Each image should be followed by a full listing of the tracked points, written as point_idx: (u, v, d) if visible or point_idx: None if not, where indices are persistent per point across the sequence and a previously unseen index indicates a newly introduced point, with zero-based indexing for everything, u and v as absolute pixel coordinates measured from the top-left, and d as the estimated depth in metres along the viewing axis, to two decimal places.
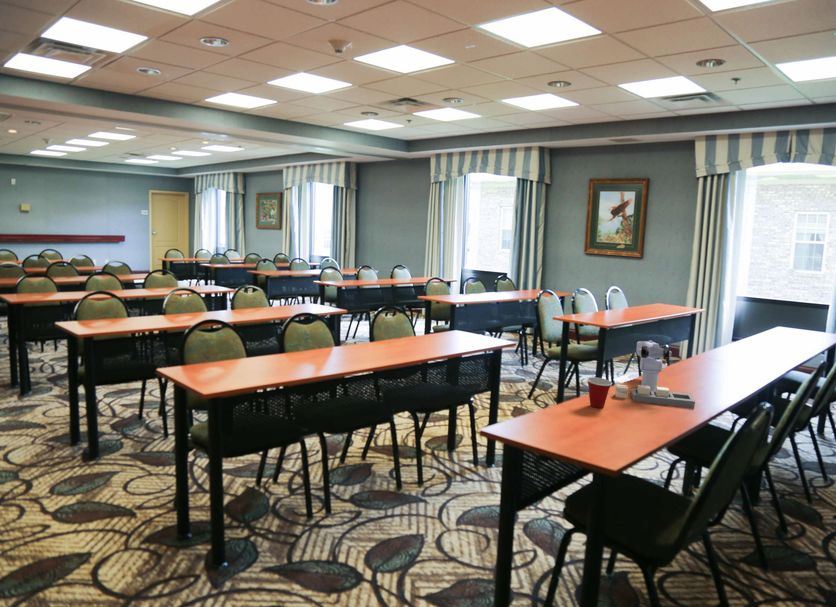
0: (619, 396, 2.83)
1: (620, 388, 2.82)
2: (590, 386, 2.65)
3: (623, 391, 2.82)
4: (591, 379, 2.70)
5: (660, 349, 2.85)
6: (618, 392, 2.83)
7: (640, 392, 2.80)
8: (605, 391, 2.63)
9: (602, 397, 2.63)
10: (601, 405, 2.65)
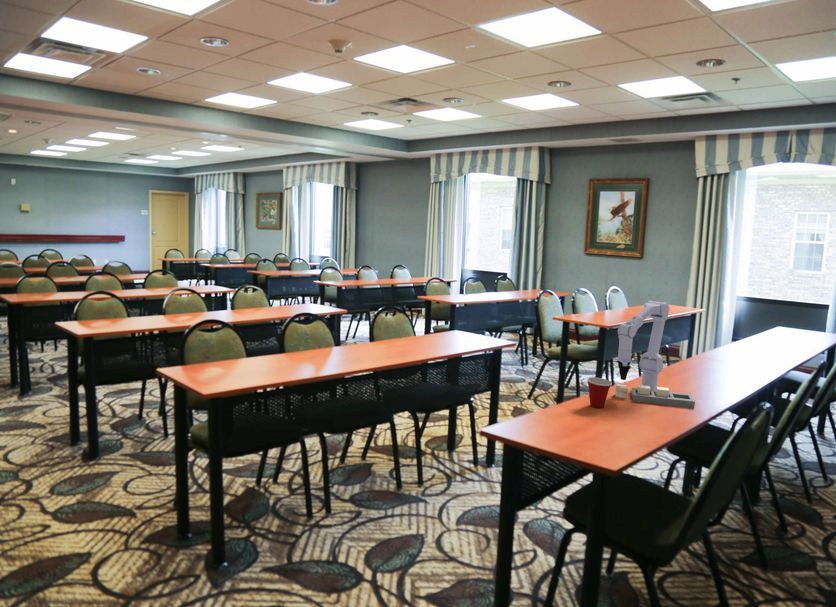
0: (619, 396, 2.83)
1: (620, 388, 2.82)
2: (590, 386, 2.65)
3: (623, 391, 2.82)
4: (591, 379, 2.70)
5: None
6: (618, 392, 2.83)
7: (640, 392, 2.80)
8: (605, 391, 2.63)
9: (602, 397, 2.63)
10: (601, 405, 2.65)
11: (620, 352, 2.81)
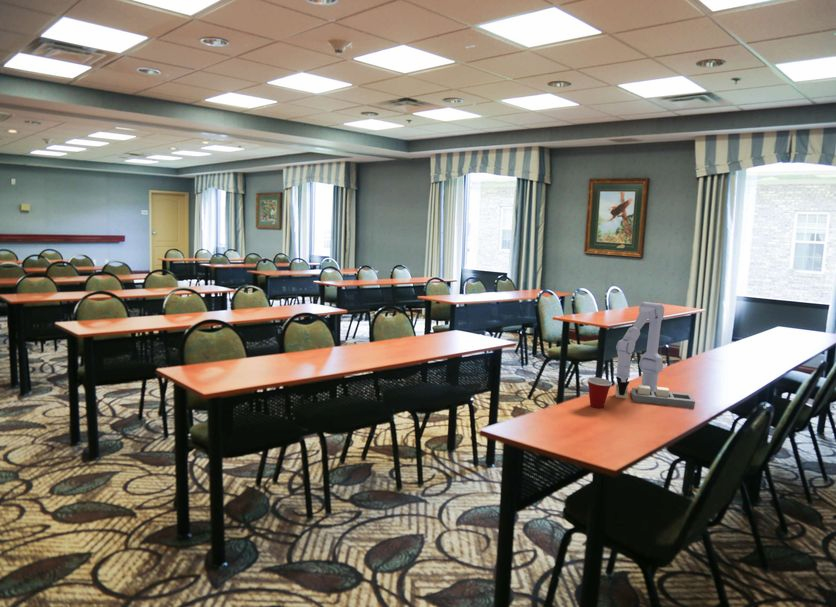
0: (619, 396, 2.83)
1: None
2: (590, 386, 2.65)
3: None
4: (591, 379, 2.70)
5: None
6: (618, 392, 2.83)
7: (640, 392, 2.80)
8: (605, 391, 2.63)
9: (602, 397, 2.63)
10: (601, 405, 2.65)
11: (619, 368, 2.82)
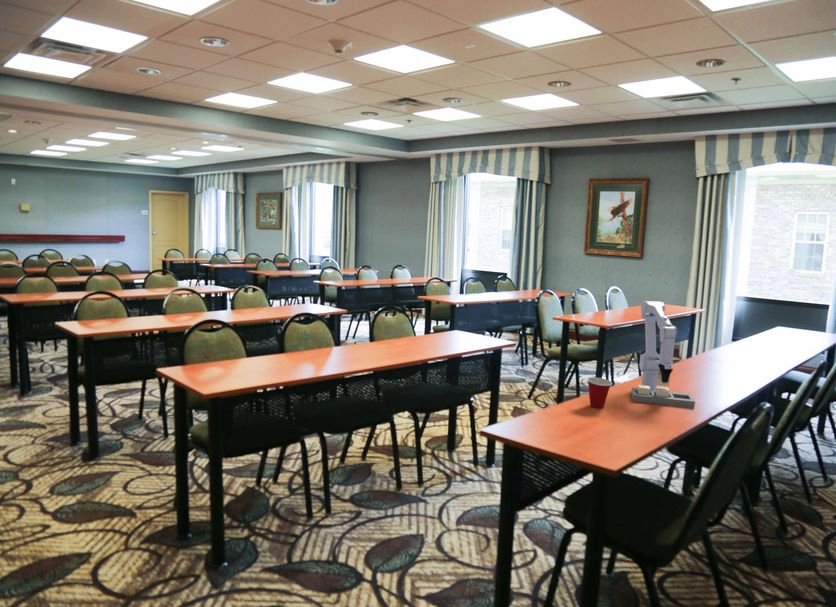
0: (661, 384, 2.77)
1: None
2: (590, 386, 2.65)
3: None
4: (591, 379, 2.70)
5: None
6: (660, 380, 2.77)
7: (640, 392, 2.80)
8: (605, 391, 2.63)
9: (602, 397, 2.63)
10: (601, 405, 2.65)
11: (662, 355, 2.76)
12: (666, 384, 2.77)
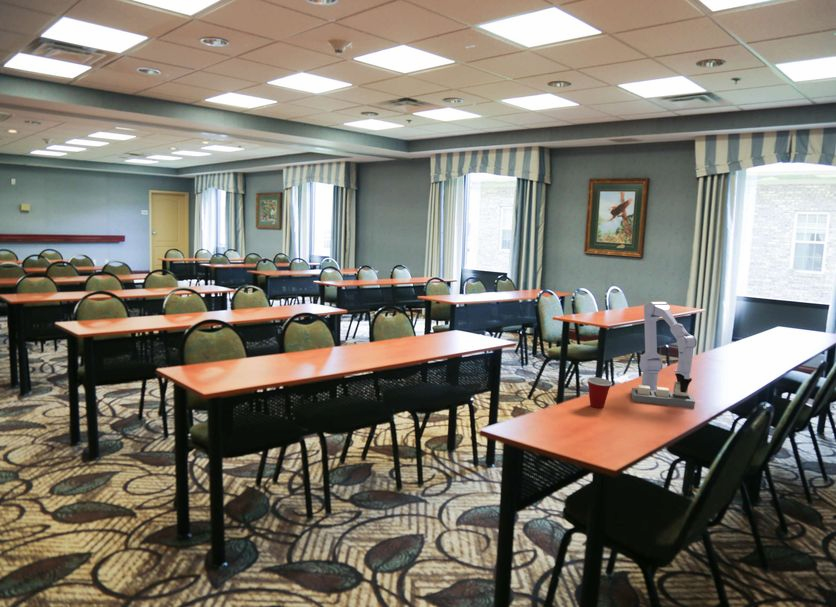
0: (679, 393, 2.75)
1: None
2: (590, 386, 2.65)
3: None
4: (591, 379, 2.70)
5: None
6: (678, 389, 2.75)
7: (640, 392, 2.80)
8: (605, 391, 2.63)
9: (602, 397, 2.63)
10: (601, 405, 2.65)
11: (680, 364, 2.74)
12: (684, 394, 2.75)
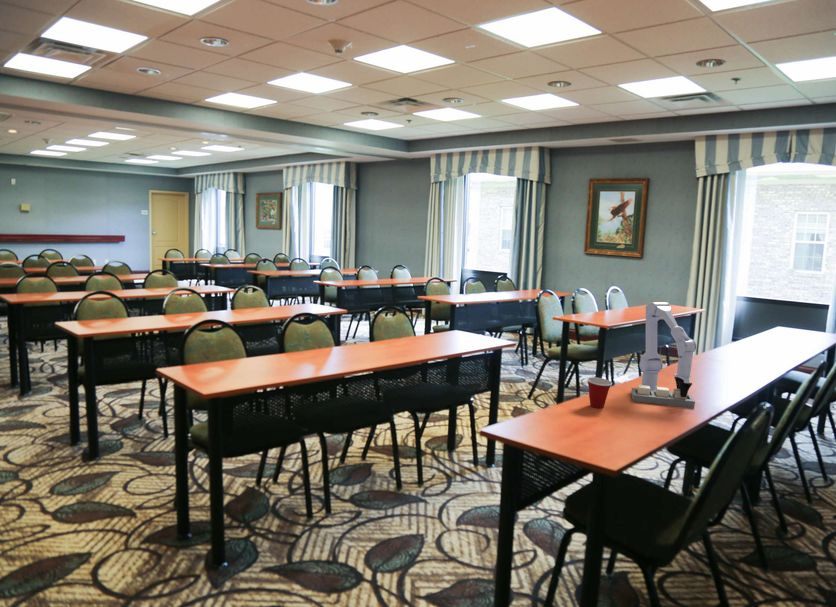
0: None
1: (679, 392, 2.75)
2: (590, 386, 2.65)
3: None
4: (591, 379, 2.70)
5: None
6: (677, 396, 2.76)
7: (640, 392, 2.80)
8: (605, 391, 2.63)
9: (602, 397, 2.63)
10: (601, 405, 2.65)
11: (680, 369, 2.75)
12: None
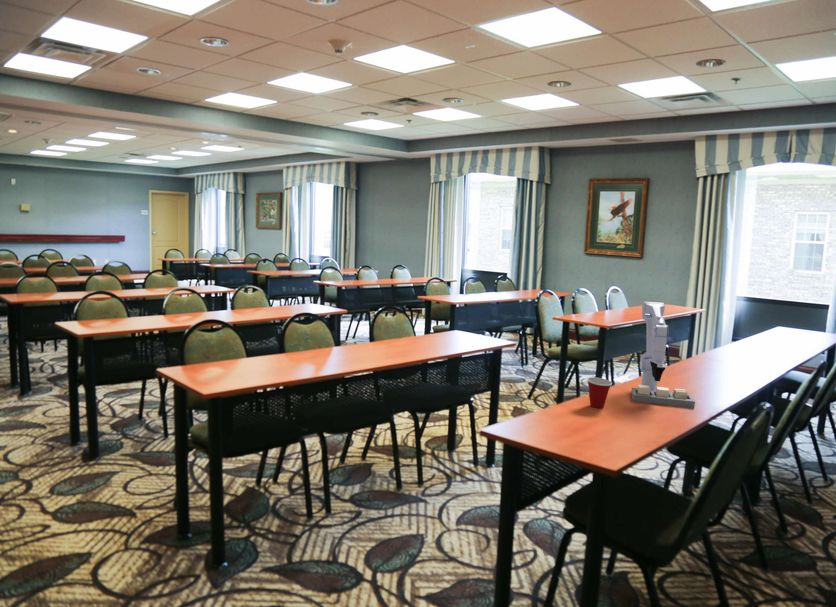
0: None
1: (679, 392, 2.75)
2: (590, 386, 2.65)
3: (683, 395, 2.75)
4: (591, 379, 2.70)
5: None
6: (677, 396, 2.76)
7: (640, 392, 2.80)
8: (605, 391, 2.63)
9: (602, 397, 2.63)
10: (601, 405, 2.65)
11: (654, 353, 2.80)
12: None
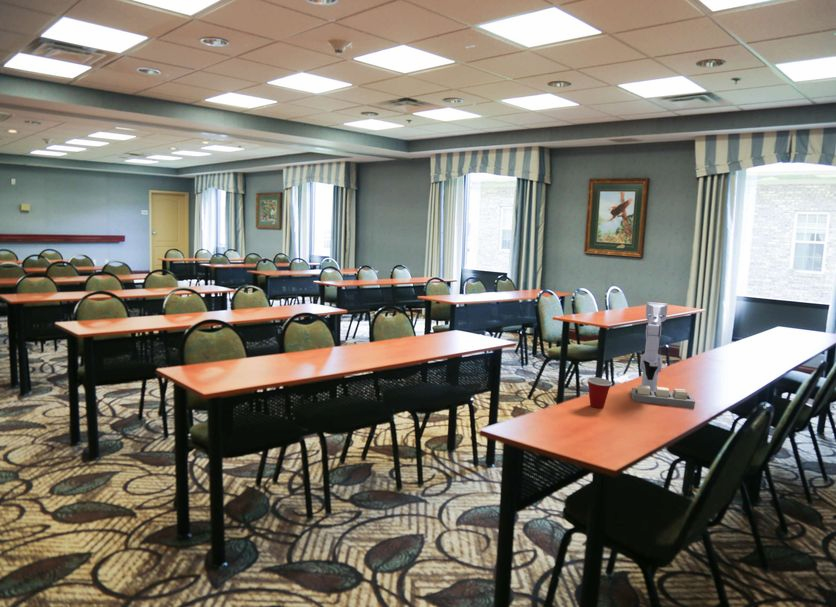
0: None
1: (679, 392, 2.75)
2: (590, 386, 2.65)
3: (683, 395, 2.75)
4: (591, 379, 2.70)
5: None
6: (677, 396, 2.76)
7: (640, 392, 2.80)
8: (605, 391, 2.63)
9: (602, 397, 2.63)
10: (601, 405, 2.65)
11: (647, 352, 2.81)
12: None
